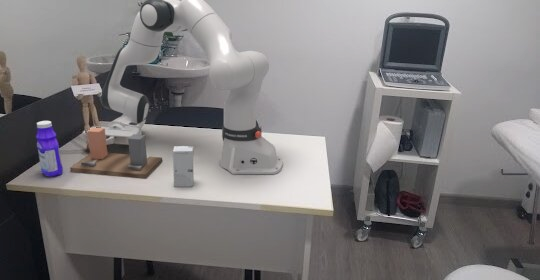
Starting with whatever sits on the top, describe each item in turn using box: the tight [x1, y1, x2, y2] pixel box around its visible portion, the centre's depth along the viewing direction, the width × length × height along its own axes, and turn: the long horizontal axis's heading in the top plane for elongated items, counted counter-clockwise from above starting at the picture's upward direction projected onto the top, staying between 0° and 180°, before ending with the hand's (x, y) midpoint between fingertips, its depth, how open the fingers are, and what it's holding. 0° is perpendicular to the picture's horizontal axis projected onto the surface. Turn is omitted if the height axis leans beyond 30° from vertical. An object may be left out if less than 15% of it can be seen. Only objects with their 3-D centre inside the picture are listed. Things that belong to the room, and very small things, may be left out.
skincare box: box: [172, 145, 195, 188], centre depth 126 cm, size 6×4×12 cm
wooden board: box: [69, 152, 163, 179], centre depth 138 cm, size 26×14×3 cm, turn 83°
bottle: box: [35, 120, 64, 178], centre depth 129 cm, size 7×6×17 cm
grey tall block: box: [128, 134, 148, 167], centre depth 135 cm, size 4×4×10 cm
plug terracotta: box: [87, 126, 109, 159], centre depth 140 cm, size 4×4×10 cm
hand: (101, 143), depth 142 cm, fingers closed, pressing on plug terracotta
